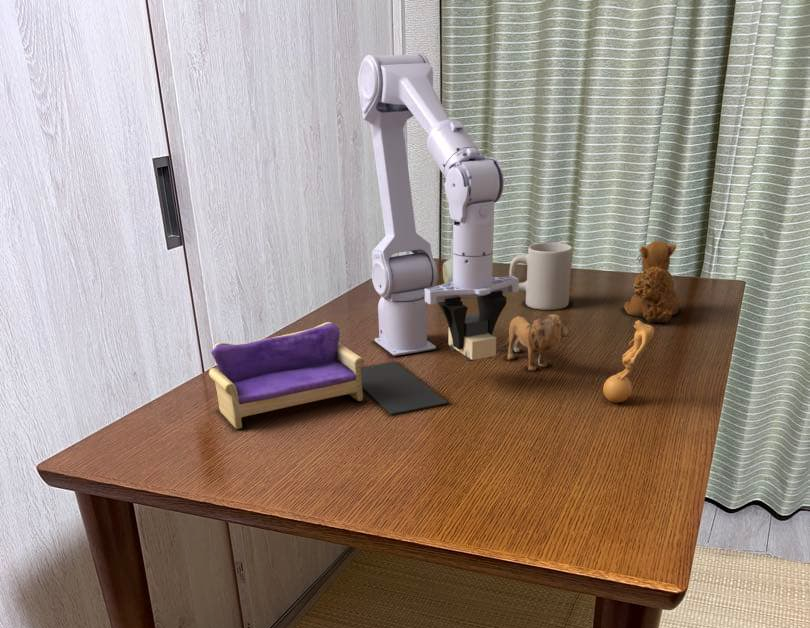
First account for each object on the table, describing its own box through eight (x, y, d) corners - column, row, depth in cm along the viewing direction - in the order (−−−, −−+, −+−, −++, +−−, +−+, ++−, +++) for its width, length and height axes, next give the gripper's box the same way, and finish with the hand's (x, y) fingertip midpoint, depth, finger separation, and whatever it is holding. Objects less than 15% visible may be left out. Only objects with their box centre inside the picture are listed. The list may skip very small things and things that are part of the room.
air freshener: (441, 282, 179) (441, 234, 174) (478, 279, 180) (479, 232, 175) (449, 294, 170) (449, 245, 165) (488, 292, 171) (489, 243, 166)
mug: (569, 299, 165) (573, 242, 159) (567, 310, 158) (572, 252, 152) (510, 297, 167) (512, 242, 161) (506, 309, 160) (508, 251, 154)
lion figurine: (570, 370, 130) (574, 314, 125) (545, 377, 127) (548, 321, 122) (510, 347, 140) (512, 295, 135) (486, 353, 138) (487, 300, 133)
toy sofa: (232, 432, 113) (221, 361, 107) (214, 411, 119) (203, 343, 114) (367, 401, 121) (363, 334, 115) (344, 384, 127) (339, 319, 122)
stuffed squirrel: (675, 306, 158) (686, 236, 151) (684, 328, 146) (695, 253, 139) (623, 306, 159) (630, 236, 152) (627, 327, 148) (635, 252, 141)
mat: (344, 372, 132) (344, 370, 132) (395, 363, 135) (395, 361, 135) (391, 415, 116) (391, 413, 116) (447, 404, 119) (447, 402, 119)
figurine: (602, 390, 122) (610, 310, 116) (643, 392, 121) (654, 312, 114) (601, 411, 115) (610, 328, 109) (645, 414, 114) (656, 330, 107)
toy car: (448, 348, 126) (448, 314, 123) (471, 344, 127) (471, 310, 125) (471, 364, 120) (472, 328, 117) (495, 359, 121) (496, 324, 118)
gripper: (439, 264, 110) (439, 360, 117) (531, 251, 115) (526, 345, 122) (417, 254, 116) (419, 346, 123) (506, 242, 120) (503, 332, 128)
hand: (471, 345), depth 123 cm, fingers closed on toy car, 4 cm apart
